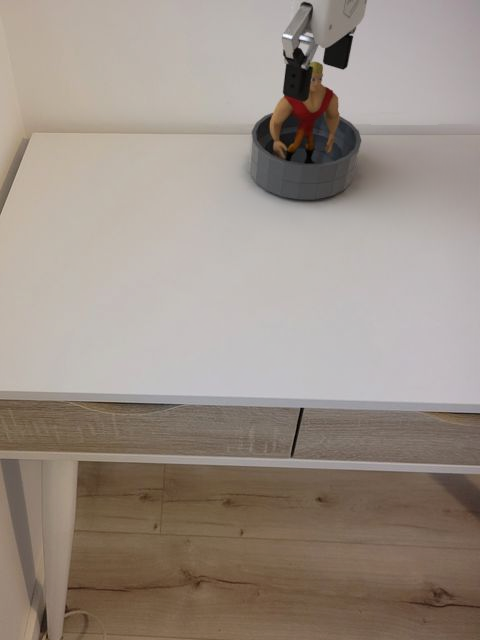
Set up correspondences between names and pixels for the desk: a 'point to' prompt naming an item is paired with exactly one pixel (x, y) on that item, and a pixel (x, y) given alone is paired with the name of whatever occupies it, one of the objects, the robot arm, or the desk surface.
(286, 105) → the action figure
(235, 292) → the desk surface
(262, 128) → the bowl
